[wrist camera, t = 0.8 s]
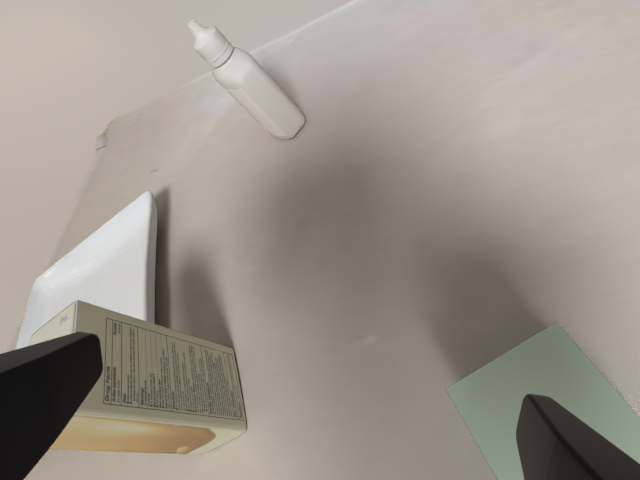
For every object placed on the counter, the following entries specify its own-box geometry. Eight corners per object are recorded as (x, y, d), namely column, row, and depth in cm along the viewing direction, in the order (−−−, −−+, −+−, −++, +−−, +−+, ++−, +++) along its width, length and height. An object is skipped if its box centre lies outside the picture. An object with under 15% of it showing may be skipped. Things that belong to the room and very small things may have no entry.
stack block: (663, 463, 16) (674, 457, 12) (547, 519, 17) (526, 529, 13) (570, 352, 19) (556, 321, 16) (477, 405, 20) (445, 389, 17)
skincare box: (193, 373, 32) (27, 330, 23) (235, 347, 31) (77, 291, 22) (201, 461, 28) (3, 452, 19) (250, 436, 27) (62, 412, 18)
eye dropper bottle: (271, 154, 39) (169, 59, 30) (265, 118, 42) (171, 23, 33) (309, 129, 37) (213, 21, 29) (299, 93, 41) (210, -13, 32)
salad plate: (21, 475, 39) (-20, 475, 37) (58, 288, 52) (29, 278, 50) (179, 391, 32) (142, 384, 30) (176, 201, 45) (150, 184, 43)
